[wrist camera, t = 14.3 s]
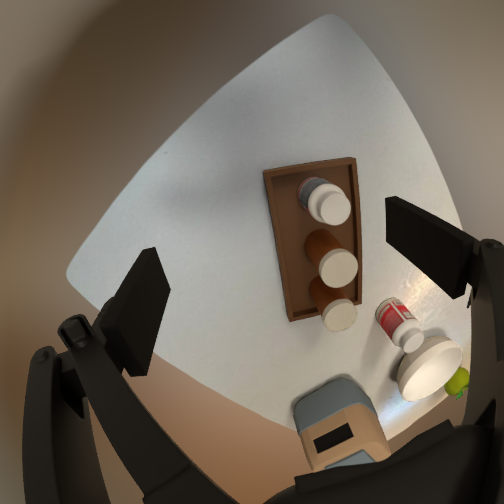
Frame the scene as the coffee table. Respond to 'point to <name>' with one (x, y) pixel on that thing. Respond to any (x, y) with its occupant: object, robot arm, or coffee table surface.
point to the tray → (311, 229)
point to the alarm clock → (339, 427)
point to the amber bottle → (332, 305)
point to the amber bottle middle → (330, 258)
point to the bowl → (428, 367)
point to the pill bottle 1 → (324, 201)
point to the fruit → (458, 382)
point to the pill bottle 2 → (400, 325)
